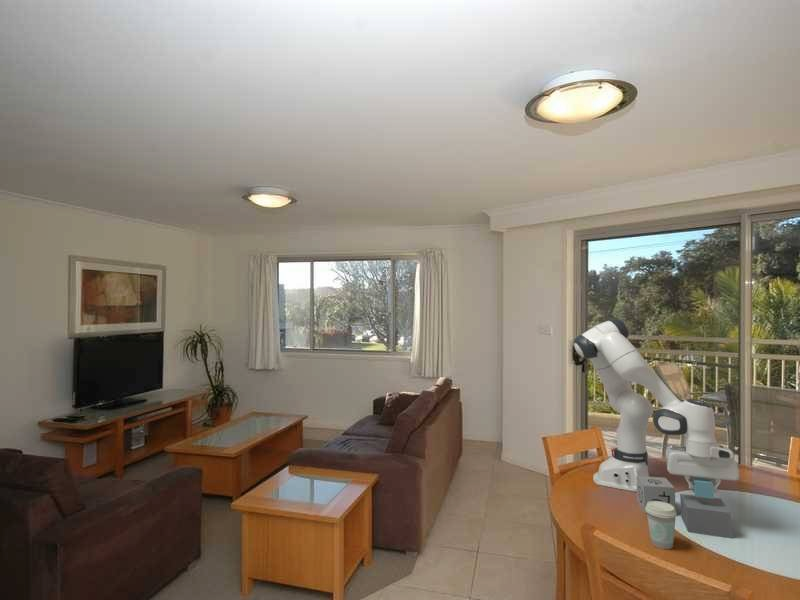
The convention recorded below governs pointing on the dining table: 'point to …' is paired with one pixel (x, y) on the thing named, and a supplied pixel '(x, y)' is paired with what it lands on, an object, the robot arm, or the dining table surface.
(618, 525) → the dining table surface
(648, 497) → the icon cube
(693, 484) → the robot arm
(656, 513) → the coffee cup
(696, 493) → the teal block
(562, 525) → the dining table surface
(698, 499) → the grey block
